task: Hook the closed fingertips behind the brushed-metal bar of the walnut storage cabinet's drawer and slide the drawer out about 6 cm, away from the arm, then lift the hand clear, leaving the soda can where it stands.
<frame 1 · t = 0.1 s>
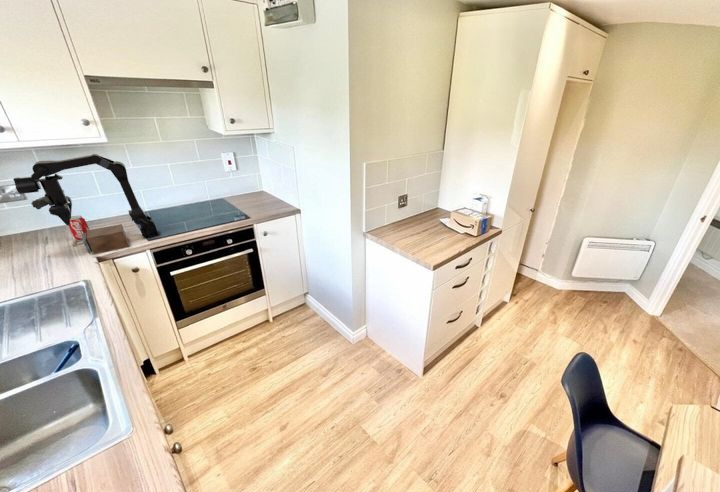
hand: (68, 221, 153), 15 cm above the worktop, tool pointing down, fingers open, 9 cm apart
soda can: (84, 238, 170), on the worktop
drawer: (96, 240, 158), point 4 cm above the worktop, slide at 0.5 cm
cabinet: (111, 246, 163), on the worktop
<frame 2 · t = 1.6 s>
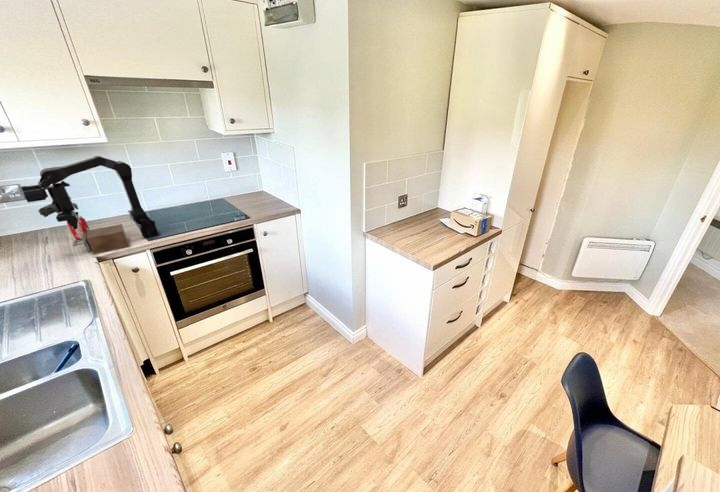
hand: (75, 228, 152), 12 cm above the worktop, tool pointing down, fingers closed
nothing on the worktop moved.
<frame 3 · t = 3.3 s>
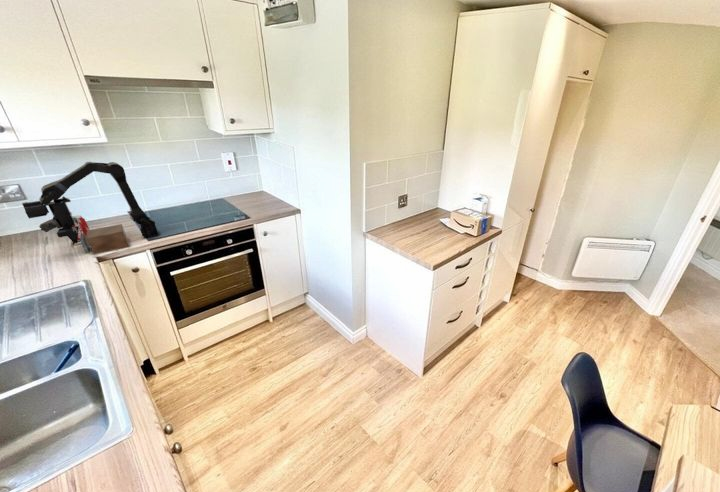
hand: (76, 243, 154), 5 cm above the worktop, tool pointing down, fingers closed, pressing on drawer
drawer: (94, 241, 158), point 4 cm above the worktop, slide at 1.4 cm, touching gripper
everything else where it was.
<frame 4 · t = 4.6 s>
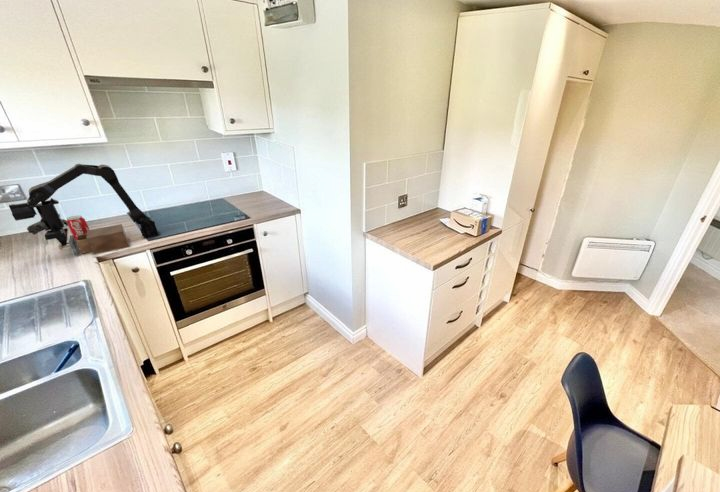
hand: (65, 245, 151), 5 cm above the worktop, tool pointing down, fingers closed, pressing on drawer
drawer: (84, 243, 155), point 4 cm above the worktop, slide at 5.2 cm, touching gripper
everything else where it was.
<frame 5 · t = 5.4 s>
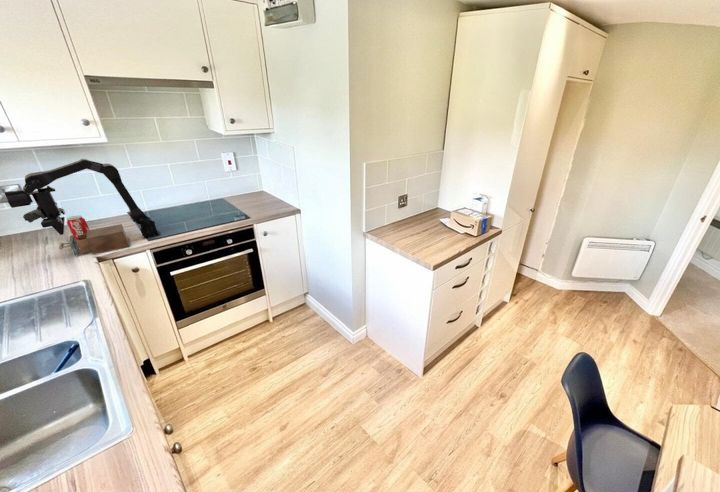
hand: (62, 234, 149), 11 cm above the worktop, tool pointing down, fingers closed
drawer: (84, 243, 155), point 4 cm above the worktop, slide at 5.2 cm
everything else where it was.
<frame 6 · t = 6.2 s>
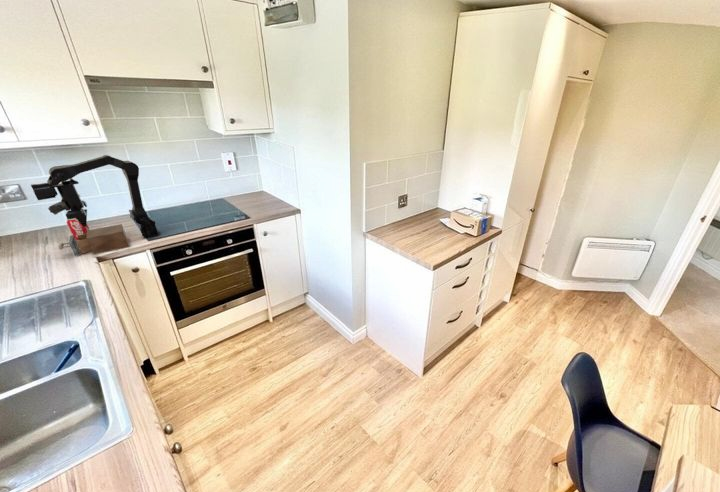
hand: (84, 226, 153), 13 cm above the worktop, tool pointing down, fingers closed
nothing on the worktop moved.
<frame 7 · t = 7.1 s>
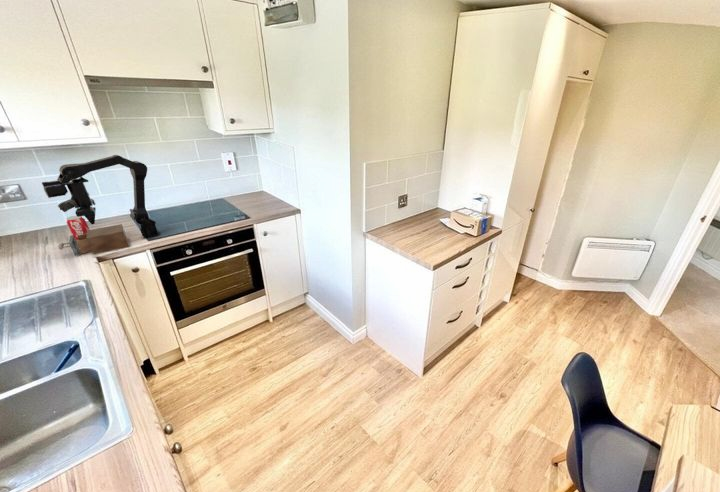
hand: (93, 224, 155), 13 cm above the worktop, tool pointing down, fingers closed
nothing on the worktop moved.
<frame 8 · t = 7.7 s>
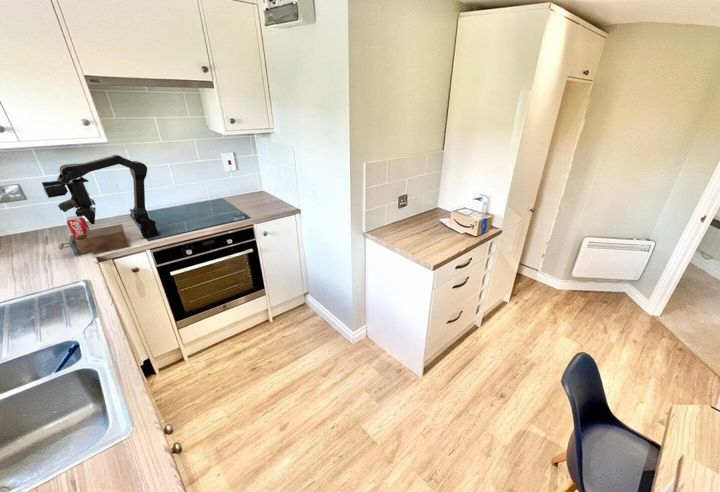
hand: (93, 224, 155), 13 cm above the worktop, tool pointing down, fingers closed
nothing on the worktop moved.
at the end: drawer slide at 5.2 cm; soda can moved 0.2 cm from its start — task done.
